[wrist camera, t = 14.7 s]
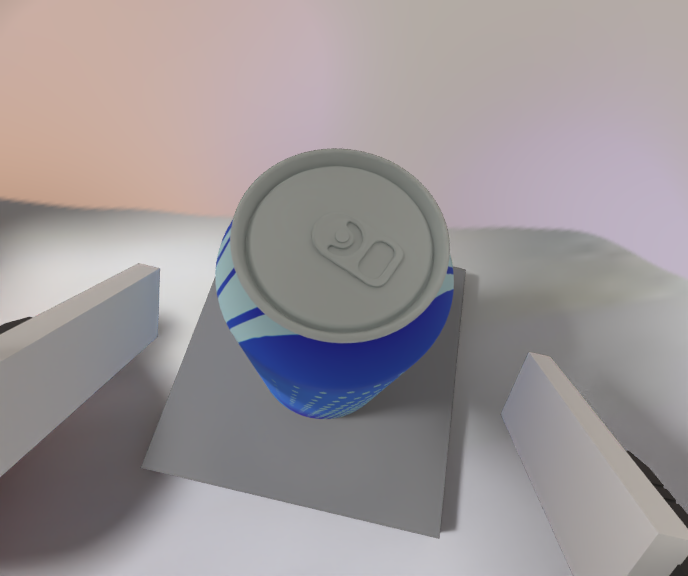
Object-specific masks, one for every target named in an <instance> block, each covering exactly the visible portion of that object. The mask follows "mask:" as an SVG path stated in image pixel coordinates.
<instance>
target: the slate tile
mask: <svg viewBox="0 0 688 576" xmlns="http://www.w3.org/2000/svg"><path fill="white" fill-rule="evenodd" d="M465 271H466V270H465V269H461V268H457V267H453V275H454V290H453V299H452V304H451V308H450V312H449V315H448V318H447V320H446V323H445V325H444V327H443V329H442V331H441V333H440V334H439V336H438V338H437V339H436V341H435V342H434V344H433V345H432V346H431V347H430V349H429V350H428V351H427V352H426V353H425V354H424V355H423V356H422V357H421V358H420V359H419V360H418V361H417V362H416V363H415V364H414V365H412V366H411V367H410V368H409V369H408V370H406V371H405V372H404V373H403V374H402V375H400V376H399V377H398V378H397V379H396V380H394V381H393V382H392V383H391V384H390V385H388V386H387V387H386V388H385V389H384V390H382V391H381V392H380V393H379V394H378V395H376V396H375V397H374V398H373V399H372V400H370V401H369V402H368V403H367V404H365V405H364V406H363V407H362V408H360V409H358V410H357V411H355V412H353V413H351V414H348V415H346V416H343V417H339V418H333V419H314V418H309V417H305V416H302V415H300V414H297V413H295V412H293V411H291V410H289V409H288V408H286V407H285V406H284V405H283V404H281V403H280V402H279V401H278V400H277V399H276V398H275V397H274V396H273V394H272V393H271V392H270V390H269V389H268V387H267V386H266V384H265V383H264V381H263V380H262V378H261V377H260V375H259V374H258V372H257V371H256V369H255V368H254V366H253V365H252V363H251V362H250V360H249V359H248V357H247V356H246V354H245V353H244V351H243V350H242V348H241V347H240V345H239V344H238V342H237V341H236V339H235V337H234V336H233V334H232V333H231V331H230V330H229V328H228V326H227V324H226V322H225V320H224V317H223V314H222V311H221V309H220V305H219V301H218V297H217V291H216V276H215V279H214V281H213V284H212V286H211V289H210V291H209V294H208V297H207V299H206V302H205V304H204V307H203V309H202V312H201V315H200V317H199V320H198V322H197V325H196V327H195V330H194V333H193V335H192V338H191V340H190V343H189V345H188V348H187V350H186V353H185V356H184V358H183V361H182V363H181V366H180V368H179V371H178V374H177V376H176V379H175V381H174V384H173V386H172V389H171V392H170V394H169V397H168V399H167V402H166V404H165V407H164V410H163V412H162V415H161V417H160V420H159V422H158V425H157V427H156V430H155V433H154V435H153V438H152V440H151V443H150V445H149V448H148V451H147V453H146V456H145V458H144V461H143V463H142V466H141V468H143V469H148V470H152V471H156V472H160V473H165V474H169V475H173V476H177V477H181V478H186V479H190V480H194V481H198V482H202V483H207V484H211V485H215V486H219V487H223V488H228V489H232V490H236V491H240V492H245V493H249V494H253V495H257V496H261V497H266V498H270V499H274V500H278V501H282V502H287V503H291V504H295V505H299V506H304V507H308V508H312V509H316V510H320V511H325V512H329V513H333V514H337V515H341V516H346V517H350V518H354V519H358V520H363V521H367V522H371V523H375V524H379V525H384V526H388V527H392V528H396V529H400V530H405V531H409V532H413V533H417V534H422V535H426V536H430V537H434V538H438V539H439V537H440V526H441V516H442V506H443V496H444V486H445V475H446V465H447V455H448V445H449V434H450V424H451V414H452V404H453V393H454V383H455V373H456V363H457V353H458V342H459V332H460V322H461V312H462V301H463V291H464V281H465Z"/></svg>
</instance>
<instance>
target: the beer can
mask: <svg viewBox="0 0 688 576" xmlns="http://www.w3.org/2000/svg"><path fill="white" fill-rule="evenodd" d="M215 274H216V291H217V297H218V301H219V305H220V309H221V311H222V314H223V317H224V320H225V322H226V324H227V326H228V328H229V330H230V331H231V333H232V334H233V336H234V337H235V339H236V341H237V342H238V344H239V345H240V347H241V348H242V350H243V351H244V353H245V354H246V356H247V357H248V359H249V360H250V362H251V363H252V365H253V366H254V368H255V369H256V371H257V372H258V374H259V375H260V377H261V378H262V380H263V381H264V383H265V384H266V386H267V387H268V389H269V390H270V392H271V393H272V394H273V396H274V397H275V398H276V399H277V400H278V401H279V402H280V403H281V404H283V405H284V406H285V407H286V408H288V409H289V410H291V411H293V412H295V413H297V414H300V415H302V416H305V417H309V418H314V419H333V418H339V417H343V416H346V415H348V414H351V413H353V412H355V411H357V410H358V409H360V408H362V407H363V406H364V405H365V404H367V403H368V402H369V401H370V400H372V399H373V398H374V397H375V396H376V395H378V394H379V393H380V392H381V391H382V390H384V389H385V388H386V387H387V386H388V385H390V384H391V383H392V382H393V381H394V380H396V379H397V378H398V377H399V376H400V375H402V374H403V373H404V372H405V371H406V370H408V369H409V368H410V367H411V366H412V365H414V364H415V363H416V362H417V361H418V360H419V359H420V358H421V357H422V356H423V355H424V354H425V353H426V352H427V351H428V350H429V349H430V347H431V346H432V345H433V344H434V342H435V341H436V339H437V338H438V336H439V334H440V333H441V331H442V329H443V327H444V325H445V323H446V320H447V318H448V315H449V312H450V308H451V304H452V299H453V290H454V275H453V266H452V260H451V256H450V243H449V235H448V229H447V226H446V222H445V219H444V217H443V215H442V212H441V210H440V208H439V206H438V204H437V203H436V201H435V200H434V198H433V197H432V195H431V194H430V193H429V191H428V190H427V189H426V188H425V187H424V186H423V185H422V184H421V183H420V182H419V181H418V180H417V179H416V178H415V177H414V176H413V175H411V174H410V173H409V172H407V171H406V170H405V169H403V168H401V167H400V166H398V165H396V164H395V163H392V162H391V161H389V160H386V159H384V158H382V157H379V156H376V155H373V154H370V153H366V152H362V151H357V150H350V149H321V150H314V151H309V152H304V153H301V154H298V155H295V156H292V157H290V158H287V159H285V160H283V161H281V162H279V163H277V164H276V165H275V166H272V167H271V168H270V169H268V170H267V171H266V172H264V173H263V174H262V175H261V176H260V177H258V178H257V179H256V180H255V181H254V183H253V184H252V185H251V186H250V187H249V189H248V190H247V191H246V193H245V194H244V196H243V197H242V199H241V201H240V203H239V205H238V207H237V209H236V212H235V215H234V218H233V220H232V222H231V224H230V225H229V227H228V229H227V231H226V233H225V235H224V237H223V240H222V243H221V246H220V249H219V253H218V257H217V262H216V272H215Z"/></svg>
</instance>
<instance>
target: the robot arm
mask: <svg viewBox="0 0 688 576" xmlns="http://www.w3.org/2000/svg"><path fill="white" fill-rule="evenodd" d="M159 283H160V268H157V267H152V266H148V265H144V264H139V263H138V264H136V265H134V266H132V267H130V268H128V269H127V270H125V271H123V272H121V273H119V274H117V275H115V276H113V277H111V278H109V279H107V280H105V281H103V282H101V283H99V284H97V285H95V286H93V287H92V288H90V289H88V290H86V291H84V292H82V293H80V294H78V295H76V296H74V297H72V298H70V299H68V300H66V301H64V302H62V303H60V304H58V305H57V306H55V307H53V308H51V309H49V310H47V311H45V312H43V313H41V314H39V315H37V316H35V317H27V318H23V319H20V320H16V321H12V322H9V323H5V324H3V325H1V326H0V477H1V476H2V475H3V474H4V473H5V472H7V471H8V470H9V469H10V468H11V467H12V466H13V465H14V464H16V463H17V462H18V461H19V460H20V459H21V458H22V457H23V456H25V455H26V454H27V453H28V452H29V451H30V450H31V449H32V448H34V447H35V446H36V445H37V444H38V443H39V442H40V441H41V440H42V439H44V438H45V437H46V436H47V435H48V434H49V433H50V432H51V431H53V430H54V429H55V428H56V427H57V426H58V425H59V424H60V423H62V422H63V421H64V420H65V419H66V418H67V417H68V416H69V415H70V414H72V413H73V412H74V411H75V410H76V409H77V408H78V407H79V406H81V405H82V404H83V403H84V402H85V401H86V400H87V399H88V398H90V397H91V396H92V395H93V394H94V393H95V392H96V391H97V390H98V389H100V388H101V387H102V386H103V385H104V384H105V383H106V382H107V381H109V380H110V379H111V378H112V377H113V376H114V375H115V374H116V373H118V372H119V371H120V370H121V369H122V368H123V367H124V366H125V365H127V364H128V363H129V362H130V361H131V360H132V359H133V358H134V357H135V356H137V355H138V354H139V353H140V352H141V351H142V350H143V349H144V348H146V347H147V346H148V345H149V344H150V343H151V342H152V341H153V340H155V339H156V338H157V337H158V314H159ZM501 416H502V418H503V421H504V423H505V425H506V427H507V429H508V432H509V434H510V436H511V438H512V441H513V443H514V445H515V447H516V450H517V452H518V454H519V456H520V458H521V461H522V463H523V465H524V467H525V470H526V472H527V474H528V476H529V479H530V481H531V483H532V485H533V487H534V490H535V492H536V494H537V496H538V499H539V501H540V503H541V505H542V508H543V510H544V512H545V514H546V516H547V519H548V521H549V523H550V525H551V528H552V530H553V532H554V534H555V537H556V539H557V541H558V543H559V545H560V548H561V550H562V552H563V554H564V557H565V559H566V561H567V563H568V566H569V568H570V570H571V572H572V574H573V576H688V514H687V513H686V512H685V511H684V510H683V508H682V507H681V506H680V505H679V504H676V500H675V499H674V497H673V496H672V495H671V494H670V493H669V491H668V490H667V489H664V488H663V486H664V485H663V484H662V483H661V482H660V481H659V479H658V478H657V477H656V476H655V474H654V473H653V472H652V471H651V470H650V468H649V467H647V466H646V465H645V464H644V463H643V462H641V461H640V460H639V459H638V458H637V457H635V456H634V455H633V454H632V453H631V452H630V451H626V450H624V448H623V447H622V446H621V444H620V443H619V442H618V441H617V439H616V438H615V437H614V436H613V434H612V433H611V432H610V431H609V429H608V428H607V427H606V426H605V424H604V423H603V422H602V421H601V419H600V418H599V417H598V416H597V414H596V413H595V412H594V411H593V409H592V408H591V407H590V406H589V404H588V403H587V402H586V401H585V399H584V398H583V397H582V396H581V394H580V393H579V392H578V391H577V389H576V388H575V387H574V386H573V384H572V383H571V382H570V381H569V379H568V378H567V377H566V376H565V374H564V373H563V372H562V370H561V369H560V368H559V367H558V365H557V364H556V363H555V362H554V360H553V359H552V358H551V357H550V356H546V355H541V354H537V353H533V352H528V355H527V357H526V359H525V361H524V363H523V366H522V368H521V370H520V372H519V375H518V377H517V379H516V381H515V383H514V386H513V388H512V390H511V392H510V395H509V397H508V399H507V401H506V403H505V406H504V408H503V410H502V412H501Z"/></svg>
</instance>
